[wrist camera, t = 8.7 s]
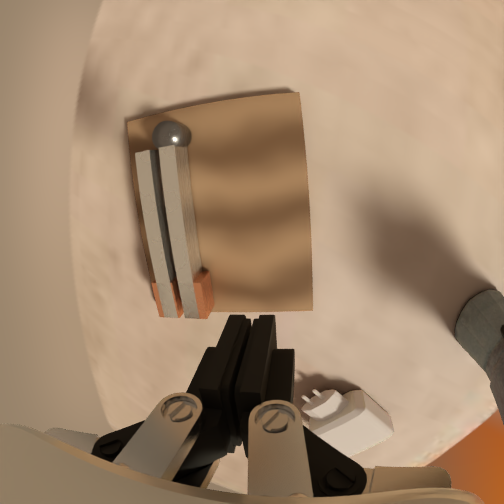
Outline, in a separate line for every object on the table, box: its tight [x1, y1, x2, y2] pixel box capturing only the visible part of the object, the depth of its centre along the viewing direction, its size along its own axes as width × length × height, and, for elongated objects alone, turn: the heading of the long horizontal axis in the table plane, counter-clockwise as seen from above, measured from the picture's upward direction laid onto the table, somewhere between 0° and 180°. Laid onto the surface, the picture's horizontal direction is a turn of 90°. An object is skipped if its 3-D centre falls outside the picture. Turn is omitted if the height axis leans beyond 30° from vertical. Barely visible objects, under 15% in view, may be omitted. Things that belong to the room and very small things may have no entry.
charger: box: [301, 389, 394, 457], centre depth 34 cm, size 5×9×15 cm
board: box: [127, 92, 313, 312], centre depth 29 cm, size 22×18×1 cm
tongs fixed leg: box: [135, 150, 184, 318], centre depth 28 cm, size 17×2×3 cm, turn 5°
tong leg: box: [152, 121, 215, 319], centre depth 27 cm, size 19×3×3 cm, turn 5°
